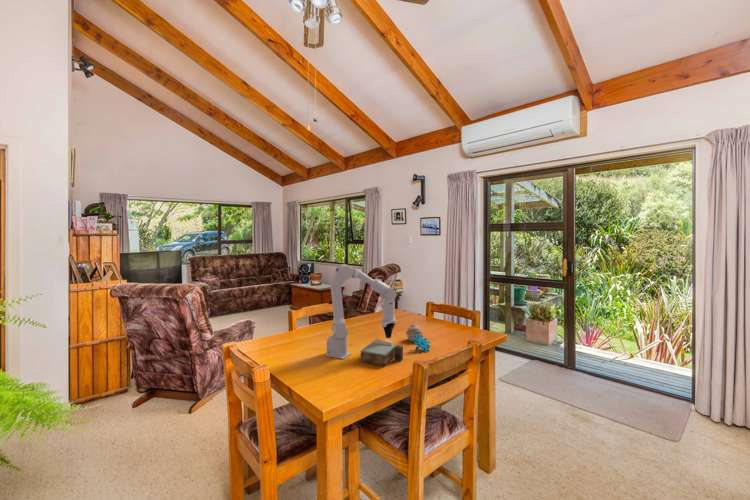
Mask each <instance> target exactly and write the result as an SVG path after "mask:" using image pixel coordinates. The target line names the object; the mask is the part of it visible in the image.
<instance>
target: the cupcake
mask: <svg viewBox="0 0 750 500" xmlns="http://www.w3.org/2000/svg"><path fill="white" fill-rule="evenodd" d="M405 334H406V336H407V340H408V342H410V343H414V342H416V341H414V340H413V339H414V338H415V337H414V336H415V335H418V334H420V338H421V335H423V331H422V329H421V328H420V326H419V325H417V324H416V322H414V323H411V324H410V326H408V328H407V330H406V331H405ZM417 338H418V336H417ZM416 340H417V339H416Z"/></svg>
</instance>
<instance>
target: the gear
mask: <svg viewBox="0 0 750 500" xmlns="http://www.w3.org/2000/svg"><path fill="white" fill-rule="evenodd" d="M417 336H418V338H417ZM414 337H415V338H414V339H413V340H414V341H416V342H413V343H414V345H415V346H416V347H415V348H416V350H417V349H418V350H419V349H420V352H424V353H427V352H430V348H431V345H430V343H431V342H432V341H431V340H428V338H427V337H424V334H422V335H421V337H420V334H418V335H415V336H414ZM416 339H417V340H416Z"/></svg>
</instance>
